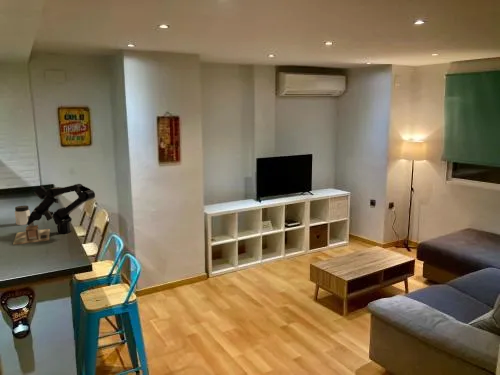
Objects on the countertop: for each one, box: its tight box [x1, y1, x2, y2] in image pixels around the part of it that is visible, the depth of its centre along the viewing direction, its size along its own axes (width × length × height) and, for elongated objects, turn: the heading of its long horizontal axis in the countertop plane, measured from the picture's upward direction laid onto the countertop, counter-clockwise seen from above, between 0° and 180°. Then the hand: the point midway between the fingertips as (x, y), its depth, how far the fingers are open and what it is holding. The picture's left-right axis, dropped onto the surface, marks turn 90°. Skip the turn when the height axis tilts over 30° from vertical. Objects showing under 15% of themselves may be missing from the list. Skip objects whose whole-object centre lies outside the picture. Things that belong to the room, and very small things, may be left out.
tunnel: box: [25, 224, 39, 241], centre depth 246 cm, size 6×8×7 cm
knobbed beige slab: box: [26, 216, 40, 239], centre depth 253 cm, size 6×20×10 cm, turn 24°
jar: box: [14, 205, 31, 226], centre depth 286 cm, size 9×8×12 cm
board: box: [13, 228, 51, 246], centre depth 253 cm, size 18×25×1 cm
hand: (28, 223), depth 259 cm, fingers open, 9 cm apart
